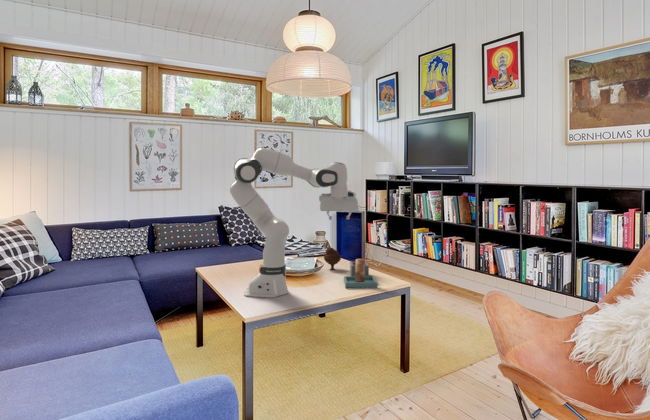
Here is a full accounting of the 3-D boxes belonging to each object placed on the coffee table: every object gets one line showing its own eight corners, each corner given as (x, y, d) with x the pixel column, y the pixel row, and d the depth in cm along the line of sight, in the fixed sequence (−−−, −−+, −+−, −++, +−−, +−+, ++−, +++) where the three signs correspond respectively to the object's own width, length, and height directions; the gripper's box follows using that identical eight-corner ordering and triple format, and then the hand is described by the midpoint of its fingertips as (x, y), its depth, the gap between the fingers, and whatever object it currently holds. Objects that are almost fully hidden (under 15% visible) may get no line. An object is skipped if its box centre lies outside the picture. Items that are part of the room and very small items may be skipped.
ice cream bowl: (334, 274, 241) (334, 250, 240) (320, 271, 248) (320, 248, 247) (344, 270, 250) (344, 247, 248) (330, 268, 256) (330, 245, 255)
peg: (355, 284, 215) (356, 260, 214) (354, 281, 220) (355, 258, 219) (365, 284, 215) (365, 260, 214) (363, 281, 220) (364, 258, 219)
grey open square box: (351, 280, 227) (351, 265, 226) (349, 275, 237) (349, 261, 236) (368, 279, 227) (368, 265, 227) (366, 275, 237) (366, 261, 237)
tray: (345, 288, 211) (345, 282, 210) (343, 281, 225) (343, 276, 224) (377, 288, 211) (377, 282, 211) (373, 281, 225) (373, 275, 225)
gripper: (319, 193, 203) (319, 220, 204) (358, 193, 204) (358, 220, 205) (319, 193, 209) (319, 219, 211) (357, 193, 210) (357, 218, 211)
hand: (339, 219), depth 208 cm, fingers open, 8 cm apart
